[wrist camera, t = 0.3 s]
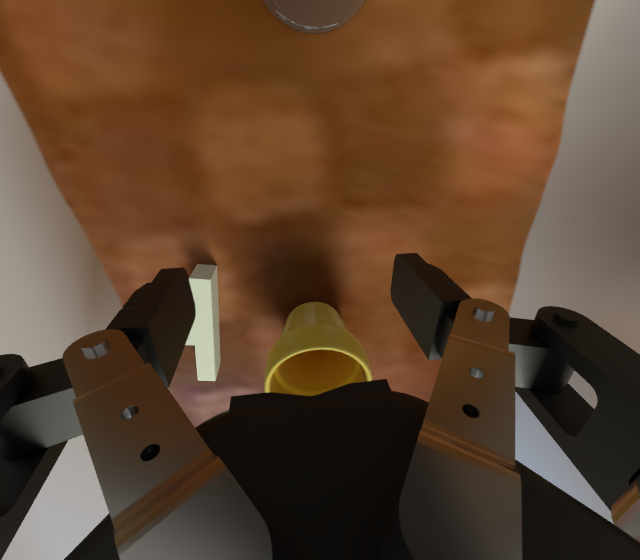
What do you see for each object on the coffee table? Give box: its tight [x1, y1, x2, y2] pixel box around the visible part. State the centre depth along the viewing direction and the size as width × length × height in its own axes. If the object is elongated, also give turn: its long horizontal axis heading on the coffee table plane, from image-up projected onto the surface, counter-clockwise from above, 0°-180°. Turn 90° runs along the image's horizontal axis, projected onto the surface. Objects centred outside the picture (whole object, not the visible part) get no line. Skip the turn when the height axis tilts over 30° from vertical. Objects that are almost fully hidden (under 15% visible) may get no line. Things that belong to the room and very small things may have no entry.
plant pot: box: [264, 302, 372, 396], centre depth 33 cm, size 10×10×10 cm
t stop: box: [185, 264, 220, 381], centre depth 33 cm, size 14×5×3 cm, turn 172°
